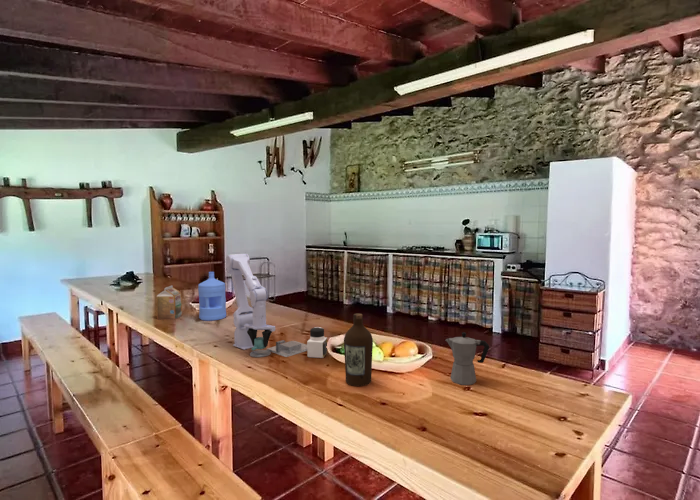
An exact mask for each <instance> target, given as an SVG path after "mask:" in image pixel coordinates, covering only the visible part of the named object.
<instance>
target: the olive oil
mask: <svg viewBox="0 0 700 500" xmlns="http://www.w3.org/2000/svg"><path fill="white" fill-rule="evenodd" d="M352 319H353V324H352V326H351V327H350V328H349V329H348V330H346V332H345V334H344V337H343V350H344V366H345V367H344V370H345V371H344V372H345V383H346V384H347V385H349V386H353V387H365V386H368V385H370V384H371V383H372V371H373V369H372V368H373V365H372V364H373V344H374V339H373V335H372V334H371V332H370V330H368V328H367V327H366V326H365V325H364V323H363V322H364V321H363V320H364V319H363V314H362V313H354V314H353V318H352Z"/></svg>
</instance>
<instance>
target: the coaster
mask: <svg viewBox="0 0 700 500" xmlns="http://www.w3.org/2000/svg"><path fill="white" fill-rule="evenodd" d="M271 354H272V352H270V351H268V350H267V349H256V350H254V351H253V350H252V351H251V352H249V356H250V357H252V358H265V357H268V356H270V355H271Z"/></svg>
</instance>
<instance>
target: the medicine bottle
mask: <svg viewBox="0 0 700 500" xmlns="http://www.w3.org/2000/svg"><path fill="white" fill-rule="evenodd" d="M309 333H310V336H309V337H310V338H309V339H308V340H307V342H306V345H307V351H306V352H307V354H306V355H307V357H308V358H318V359H319V358H320V359H324V357H325V356H326V355H327V354H328V337H327V336H326V337H325V329H324V328H323V327H319V326H316V327H312V328H310V331H309ZM326 346H327V348H326Z"/></svg>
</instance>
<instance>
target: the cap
mask: <svg viewBox="0 0 700 500" xmlns="http://www.w3.org/2000/svg"><path fill="white" fill-rule="evenodd" d="M266 347H267V346H266ZM266 347H264V342H263V336H257V338H254V347H252V348H251V351H252V352H253V351H256V350H265V349H267V348H266Z"/></svg>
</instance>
